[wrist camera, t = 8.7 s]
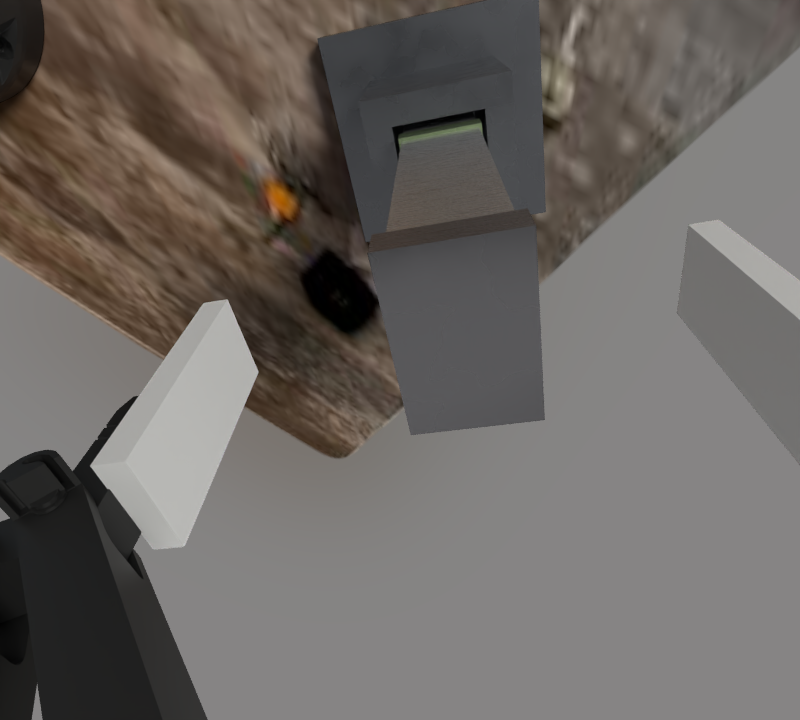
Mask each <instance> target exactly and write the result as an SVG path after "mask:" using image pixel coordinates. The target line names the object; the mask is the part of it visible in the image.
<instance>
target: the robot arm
mask: <svg viewBox="0 0 800 720" xmlns="http://www.w3.org/2000/svg"><path fill="white" fill-rule="evenodd" d="M43 37H44V22H43V12H42V5H41V0H0V102H2V101H5V100H7V99H9V98H11V97H13V96H14V95H16V94H17V93H18V92H19V91H21V90H22V89H23V88H24V87H25V86H26V85H27V83H28V82H29V81H30V79H31V78H32V76H33V74H34V73H35V70H36V68H37V66H38V63H39V60H40V57H41V52H42V47H43ZM677 314H678V315H679V316H680V318H681V319H682V320H683V321H684V323H685V324H686V325H687V326H688V328H689V329H690V330H691V331H692V332H693V334H694V335H695V336H696V337H697V339H698V340H699V341H700V342H701V344H702V345H703V346H704V347H705V349H706V350H707V351H708V352H709V354H711V356H712V357H713V358H714V360H715V361H716V362H717V363H718V365H719V366H720V367H721V368H722V369H723V371H724V372H725V373H726V375H727V376H728V377H729V378H730V379H731V381H732V382H733V383H734V384H735V386H736V387H737V388H738V389H739V390H740V392H741V393H742V394H743V396H744V397H745V398H746V399H747V400H748V402H749V403H750V404H751V405H752V406H753V408H754V409H755V410H756V412H757V413H758V414H759V415H760V416H761V418H762V419H763V420H764V421H765V423H766V424H767V425H768V426H769V428H770V429H771V430H772V431H773V432H774V434H775V435H776V436H777V437H778V439H779V440H780V441H781V442H782V444H783V445H784V446H785V447H786V449H787V450H788V451H789V452H790V453H791V455H792V456H793V457H794V458H795V460H796V461H797V462H798V463H799V464H800V280H798V279H797V278H796V277H794V276H793V275H792V274H790V273H789V272H788V271H786V270H785V269H784V268H782V267H781V266H780V265H778V264H777V263H776V262H774V261H773V260H772V259H770V258H769V257H768V256H766V255H765V254H764V253H762V252H761V251H760V250H758V249H757V248H755V247H754V246H753V245H752V244H750V243H749V242H748V241H746V240H745V239H744V238H742V237H741V236H740V235H738V234H737V233H736V232H734V231H733V230H732V229H730V228H729V227H728V226H726V225H725V224H724V223H722V222H721V221H720V220H715V221H709V222H702V223H696V224H690V225H688V231H687V239H686V247H685V255H684V263H683V270H682V278H681V286H680V293H679V301H678V308H677ZM257 375H258V370H257V367H256V365H255V363H254V360H253V358H252V356H251V353H250V351H249V348H248V346H247V344H246V341H245V339H244V337H243V334H242V332H241V330H240V327H239V325H238V323H237V320H236V318H235V316H234V313H233V311H232V309H231V306H230V304H229V302H228V299H226V300H220V301H214V302H207V303H203V305H202V306H201V308H200V309H199V311H198V312H197V313H196V315H195V316H194V318H193V319H192V321H191V322H190V323H189V325H188V326H187V328H186V329H185V331H184V332H183V333H182V335H181V336H180V338H179V339H178V341H177V342H176V343H175V345H174V346H173V348H172V349H171V351H170V352H169V353H168V355H167V356H166V358H165V359H164V361H163V362H162V364H161V365H160V366H159V368H158V369H157V371H156V372H155V373H154V375H153V376H152V378H151V379H150V381H149V382H148V383H147V385H146V386H145V388H144V389H143V391H142V392H141V394H140V395H139V396H135V397H133V398H132V399H130V400H129V401H128V402H127V403H125V404H124V405H123V406H122V407H121V408H119V410H117V411H116V413H115V414H114V415H113V417H112V418H111V420H110V421H109V422H108V424H107V428H104V429H103V431H102V432H101V433H100V435H99V436H98V440H95V442H94V443H93V444H92V446H91V447H90V448H89V450H88V451H87V453H86V454H85V456H84V457H83V458H82V460H81V461H80V462H79V464H78V465H77V467H76V468H75V469H74V470H73V471H72V470H71V469H70V468H69V466H68V465H67V464H66V462H65V461H64V460H63V459H62V457H61V456H60V455H59V454H58V453H57V452H56V451H53V450H43V451H38V452H34V453H32V454H29V455H27V456H25V457H22V458H20V459H19V460H17V461H16V462H14V463H12V464H11V465H9V466H8V467H6V468H5V469H4V470H3V471H2V472H1V473H0V508H1V509H2V510H3V511H4V512H5V513H6V514H7V515H8V516H9V517H10V519H7V520H5V521H1V522H0V720H31V719H32V712H33V706H34V700H35V693H36V686H37V684H38V691H39V697H40V704H41V711H42V718H43V720H207V717H206V715H205V712H204V710H203V708H202V705H201V703H200V700H199V698H198V695H197V693H196V691H195V688H194V686H193V683H192V681H191V678H190V676H189V674H188V671H187V669H186V666H185V664H184V662H183V659H182V657H181V655H180V652H179V650H178V647H177V645H176V642H175V640H174V638H173V635H172V633H171V630H170V628H169V625H168V623H167V621H166V618H165V616H164V614H163V611H162V609H161V606H160V604H159V602H158V599H157V597H156V594H155V592H154V589H153V587H152V584H151V582H150V580H149V577H148V575H147V573H146V570H145V568H144V565H143V563H142V560H141V558H140V557H139V555H138V554H137V553H136V552H135V550H134V549H133V548H134V546H135V544H136V542H137V540H138V538H139V536H140V534H142V536H143V537H144V538H145V540H146V541H147V542H148V543H149V545H150V546H151V548H152V549H153V550H156V549H166V548H176V547H184V546H185V544H186V542H187V539H188V537H189V534H190V532H191V530H192V527H193V525H194V523H195V520H196V518H197V516H198V513H199V511H200V509H201V506H202V504H203V502H204V499H205V497H206V494H207V492H208V490H209V488H210V485H211V483H212V480H213V478H214V476H215V473H216V471H217V469H218V466H219V464H220V462H221V459H222V457H223V454H224V452H225V450H226V448H227V445H228V443H229V440H230V438H231V436H232V433H233V431H234V429H235V426H236V424H237V421H238V419H239V417H240V414H241V412H242V410H243V408H244V405H245V403H246V401H247V398H248V396H249V394H250V391H251V389H252V386H253V384H254V382H255V379H256V377H257Z"/></svg>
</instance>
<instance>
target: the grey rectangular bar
mask: <svg viewBox="0 0 800 720" xmlns="http://www.w3.org/2000/svg"><path fill="white" fill-rule="evenodd" d="M398 141H399V147H400V153H399V159H398V165H397V171H396V177H395V183H394V189H393V194H392V200H391V206H390V212H389V218H388V224H387V230H386V232H384V233H378V234H373V235H371V240H370V244H369V248H368V258H369V262H370V266H371V270H372V274H373V278H374V283H375V287H376V291H377V295H378V299H379V304H380V308H381V312H382V316H383V320H384V324H385V329H386V333H387V337H388V341H389V345H390V350H391V354H392V358H393V362H394V366H395V370H396V375H397V379H398V383H399V387H400V391H401V396H402V400H403V404H404V408H405V412H406V416H407V421H408V425H409V429H410V433H411V435H416V434H425V433H433V432H441V431H451V430H460V429H469V428H478V427H487V426H495V425H504V424H513V423H522V422H531V421H540V420H545V418H544V395H543V372H542V351H541V350H542V349H541V326H540V304H539V281H538V259H537V236H536V224H535V222H534V220H533V218H532V216H531V214H530V212H529V210H528V208H526V209H520V210H514V208H513V205H512V203H511V201H510V198H509V196H508V194H507V191H506V189H505V187H504V184H503V182H502V180H501V177H500V175H499V172H498V170H497V168H496V165H495V163H494V161H493V158H492V156H491V154H490V151H489V149H488V147H487V144H486V142H485V140H484V137H483V132H482V122H481V120H480V118H479V119H476V118H475V116H474V114H473V111H472V112H467V113H462V114H457V115H452V116H447V117H442V118H436V119H431V120H426V121H421V122H416V123H411V124H406V125H404V130H403V133H402V134H399V137H398Z"/></svg>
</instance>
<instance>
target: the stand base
mask: <svg viewBox="0 0 800 720" xmlns="http://www.w3.org/2000/svg"><path fill="white" fill-rule="evenodd" d="M318 44H319V48H320V52H321V56H322V60H323V65H324V69H325V73H326V77H327V81H328V86H329V90H330V94H331V98H332V102H333V107H334V111H335V115H336V119H337V123H338V128H339V132H340V136H341V140H342V144H343V149H344V153H345V157H346V161H347V165H348V170H349V174H350V178H351V182H352V186H353V191H354V195H355V199H356V203H357V207H358V212H359V216H360V220H361V224H362V228H363V233H364V237H365V241H366V242H370V240H371V235H373V234H378V233H384V232H386V230H387V224H388V218H389V212H390V206H391V200H392V194H393V189H394V183H395V177H396V171H397V165H398V159H399V153H400V147H399V141H398V137H399V134H402V133H403V130H404V125H406V124H411V123H416V122H421V121H426V120H431V119H436V118H442V117H447V116H452V115H457V114H462V113H467V112H472V111H473V114H474V116H475V118H476V119H479V118H480V120H481V122H482V132H483V137H484V140H485V142H486V144H487V147H488V149H489V151H490V154H491V156H492V158H493V161H494V163H495V165H496V168H497V170H498V172H499V175H500V177H501V180H502V182H503V184H504V187H505V189H506V191H507V194H508V196H509V198H510V201H511V203H512V205H513V208H514V210H520V209H526V208H528V210H529V212H530V214H537V213H543V212H546V207H545V177H544V147H543V117H542V86H541V56H540V26H539V0H484V1H479V2H475V3H470V4H466V5H462V6H457V7H453V8H448V9H444V10H440V11H435V12H431V13H426V14H422V15H417V16H413V17H409V18H404V19H400V20H395V21H391V22H387V23H382V24H378V25H373V26H369V27H364V28H360V29H356V30H351V31H347V32H342V33H338V34H334V35H329V36H325V37H321V38H318Z"/></svg>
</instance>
